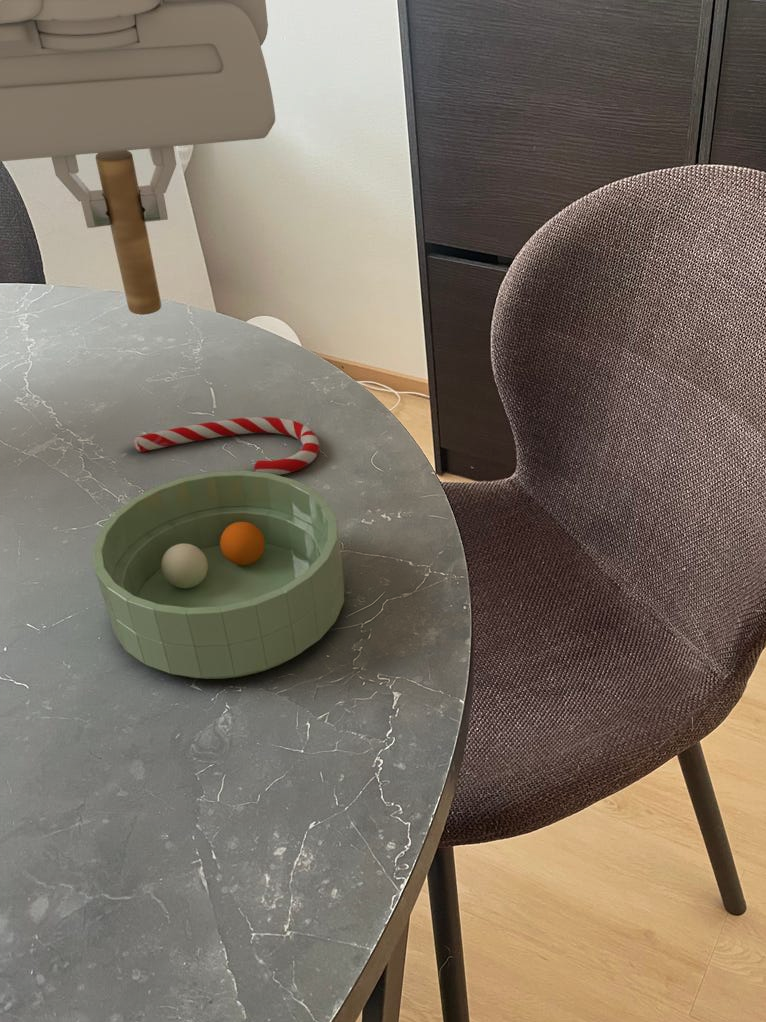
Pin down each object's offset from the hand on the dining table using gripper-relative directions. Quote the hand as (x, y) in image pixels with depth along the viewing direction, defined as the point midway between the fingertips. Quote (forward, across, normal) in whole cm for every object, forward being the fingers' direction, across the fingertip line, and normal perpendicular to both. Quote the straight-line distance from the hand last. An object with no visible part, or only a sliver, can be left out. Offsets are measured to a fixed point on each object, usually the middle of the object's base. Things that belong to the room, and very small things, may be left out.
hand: (126, 221), depth 67 cm
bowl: (+20, -1, +16) cm, 26 cm away
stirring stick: (+6, 0, 0) cm, 6 cm away
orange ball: (+18, -3, +12) cm, 22 cm away
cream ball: (+18, +1, +13) cm, 22 cm away
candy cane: (+21, -4, -4) cm, 21 cm away
